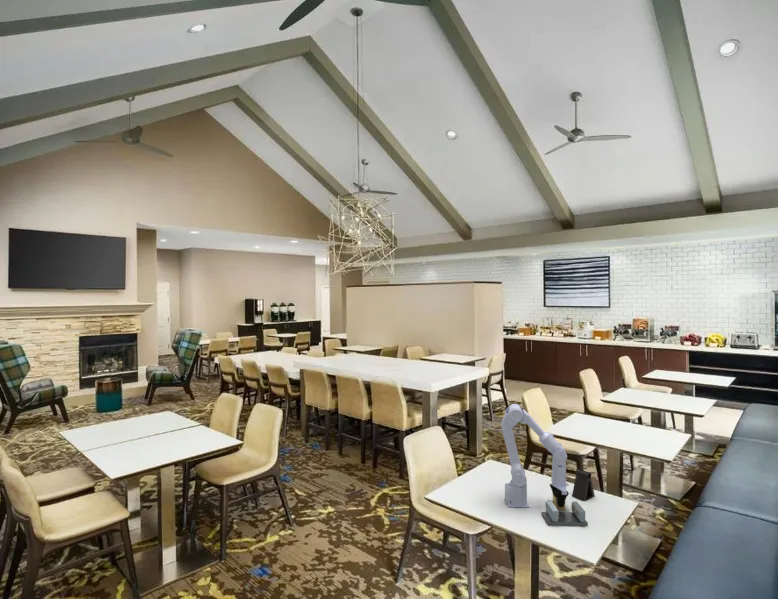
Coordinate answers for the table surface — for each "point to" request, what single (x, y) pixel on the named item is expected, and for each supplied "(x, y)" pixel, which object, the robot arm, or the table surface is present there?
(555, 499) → the brass block
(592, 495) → the phone stand
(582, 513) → the vise
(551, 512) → the sliding jaw
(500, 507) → the table surface
